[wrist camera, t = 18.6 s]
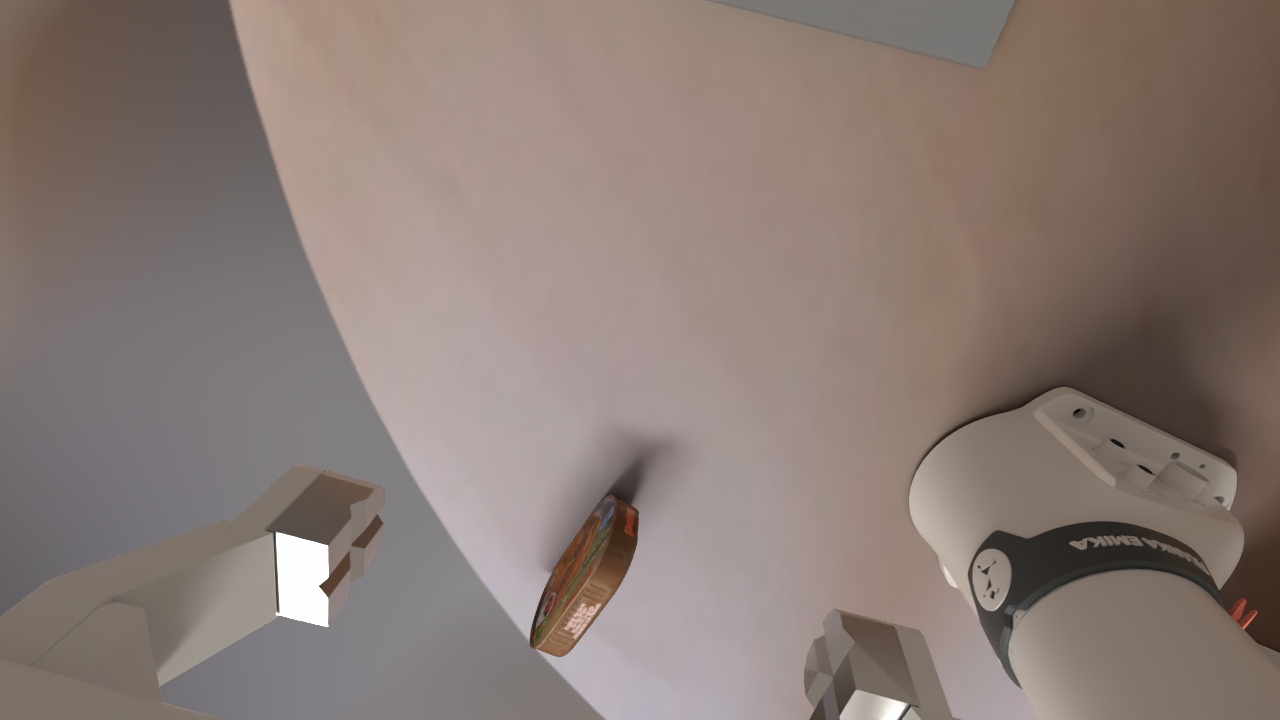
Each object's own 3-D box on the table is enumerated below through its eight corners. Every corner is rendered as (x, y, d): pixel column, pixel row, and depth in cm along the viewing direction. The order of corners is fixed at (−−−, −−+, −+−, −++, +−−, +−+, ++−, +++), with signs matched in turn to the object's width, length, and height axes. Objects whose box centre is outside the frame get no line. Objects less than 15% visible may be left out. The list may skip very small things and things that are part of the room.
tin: (618, 474, 51) (602, 545, 44) (651, 492, 52) (641, 565, 44) (539, 587, 58) (514, 666, 50) (570, 602, 58) (549, 682, 50)
